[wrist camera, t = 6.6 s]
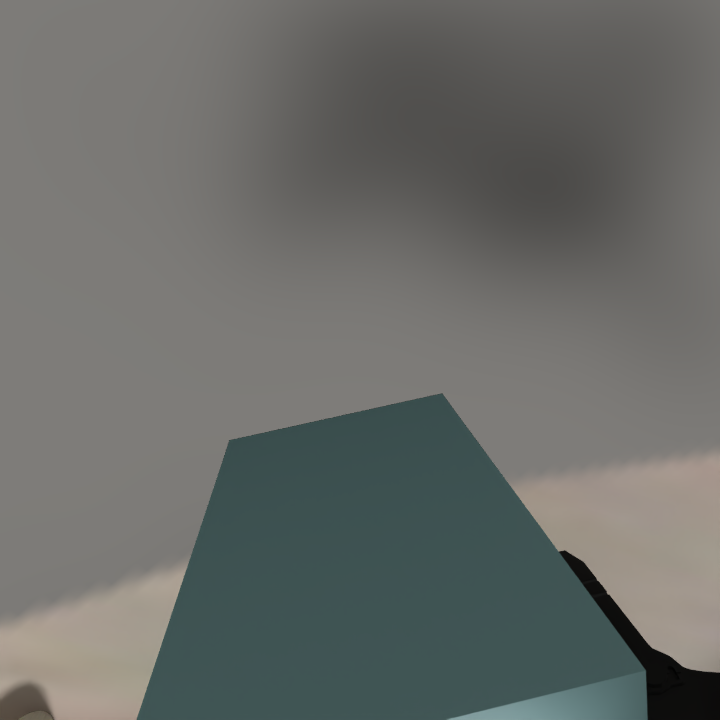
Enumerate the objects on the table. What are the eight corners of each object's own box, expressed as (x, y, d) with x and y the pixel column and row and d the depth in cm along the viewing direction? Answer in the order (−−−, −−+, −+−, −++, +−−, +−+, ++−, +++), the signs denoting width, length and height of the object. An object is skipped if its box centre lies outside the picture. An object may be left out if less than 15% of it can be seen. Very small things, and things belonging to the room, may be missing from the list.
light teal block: (441, 393, 14) (645, 670, 6) (484, 666, 17) (661, 1119, 9) (229, 440, 14) (108, 802, 5) (309, 709, 17) (313, 1218, 8)
